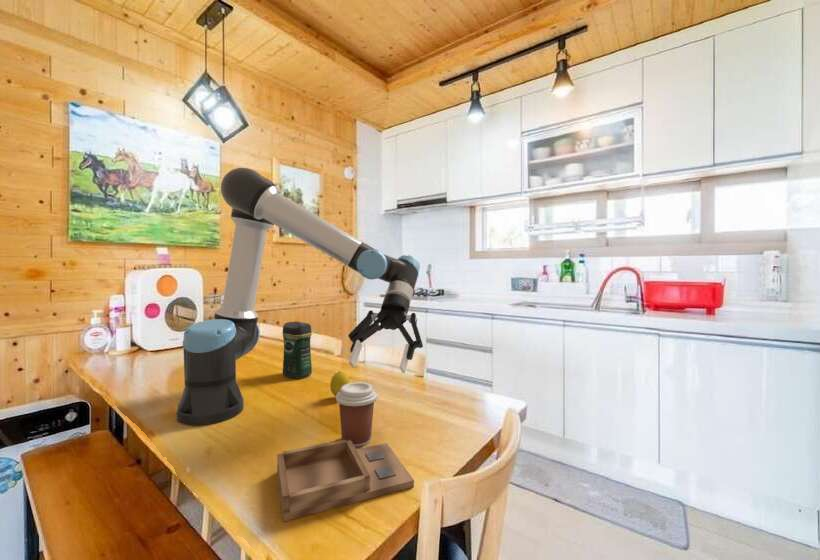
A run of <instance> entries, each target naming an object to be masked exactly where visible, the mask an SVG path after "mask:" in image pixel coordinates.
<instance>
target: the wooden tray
mask: <svg viewBox="0 0 820 560" xmlns="http://www.w3.org/2000/svg"><path fill="white" fill-rule="evenodd" d="M276 459H277V466H276V467H277V470H276V473H277V481H278V490H279V496H280V498H279V499H280V506H281V514H282V516H281V517H282V522H284V523H285V522H288V521H293V520H295V519H299V518H303V517H307V516H311V515H313V514H318V513H321V512H325V511H330V510H332V509H336V508H341V507H343V506H348V505H350V504H351V505H352V504H354V503H358V502H362V501H366V500H370V499H372V498H377V497H381V496H384V495H388V494H392V493H396V492H399V491H403V490H406V489H411V488H414V487H415V479H414V478H413V476H412V475H411V474H410V473H409V471H408V470H407V468H406V466H405V465H403V462H401V460H400V459H399V458H398V456H397V455H396V453H395V452H394V451H393V449H392V448H391V446H390V445H389V444H388V442H384V443H379V444H375V445H374V444H373V445H370V446H365V447H362V448H361V447H359V448H356V447H354V445H353V443H352V441H351V440H347V441H346V440H342V439H341V440H337V441H331V442H326V443H321V444H316V445H310V446H305V447H301V448H296V449H295V448H294V449H290V450H285V451H282V453H277V457H276Z"/></svg>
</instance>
